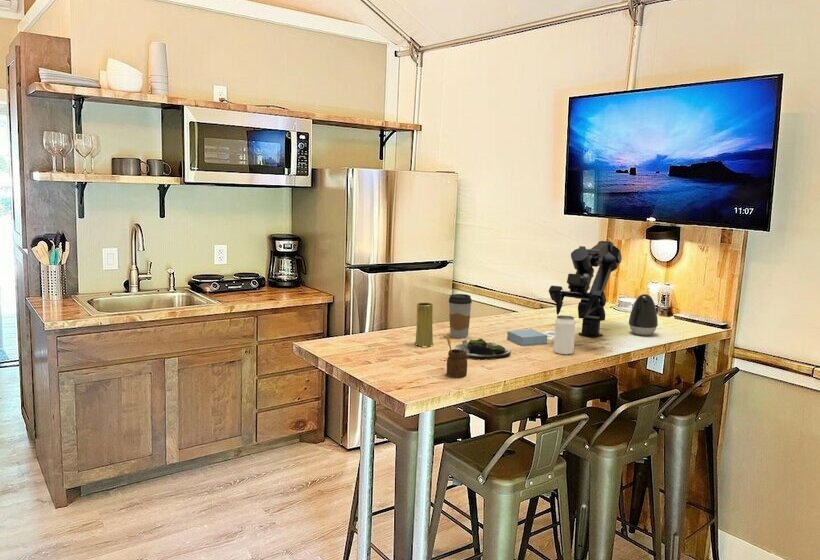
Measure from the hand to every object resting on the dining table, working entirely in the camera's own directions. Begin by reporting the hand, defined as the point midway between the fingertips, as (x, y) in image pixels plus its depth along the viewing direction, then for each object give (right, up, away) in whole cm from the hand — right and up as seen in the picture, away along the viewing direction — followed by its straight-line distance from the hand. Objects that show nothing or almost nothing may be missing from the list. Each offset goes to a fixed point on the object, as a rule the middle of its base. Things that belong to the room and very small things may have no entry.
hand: (570, 315), depth 217 cm
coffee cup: (-36, -9, +17) cm, 41 cm away
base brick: (-13, -10, +11) cm, 20 cm away
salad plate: (-30, -13, -5) cm, 33 cm away
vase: (-49, -10, +4) cm, 50 cm away
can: (-3, -12, -3) cm, 13 cm away
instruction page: (-2, -8, +21) cm, 22 cm away
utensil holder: (-41, -16, -29) cm, 52 cm away
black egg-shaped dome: (+33, -9, +25) cm, 43 cm away
